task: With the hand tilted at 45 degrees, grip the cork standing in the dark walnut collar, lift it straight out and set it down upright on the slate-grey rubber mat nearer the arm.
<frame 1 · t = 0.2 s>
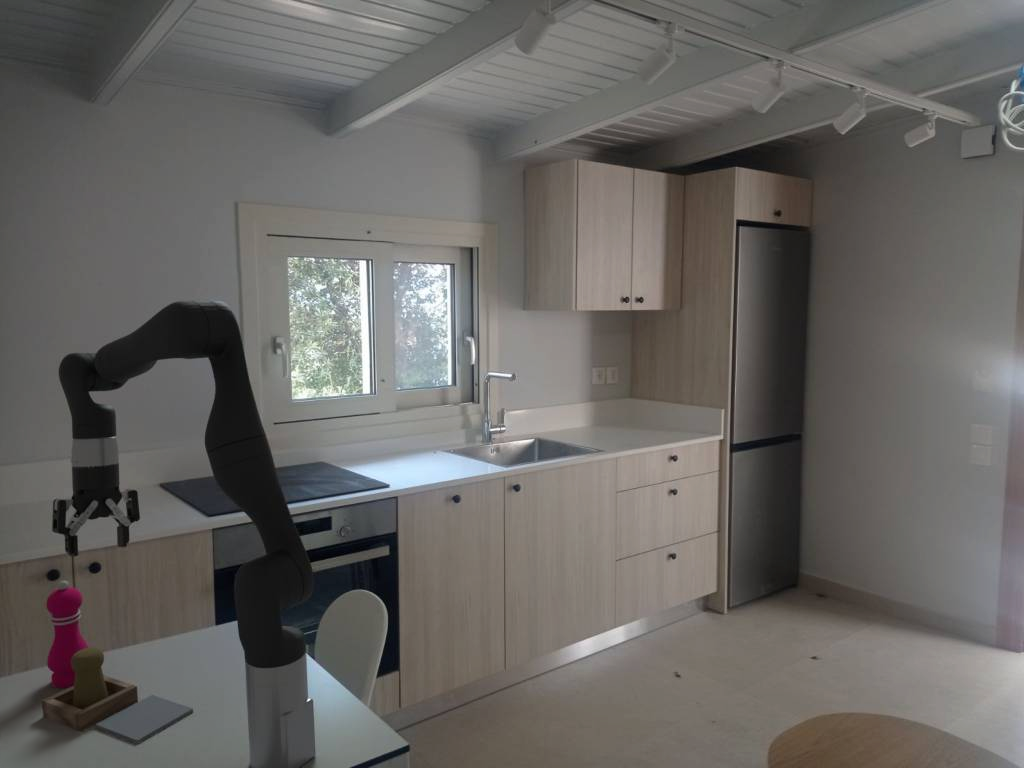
hand: (98, 551, 137), 28 cm above the table, tool pointing down, fingers open, 8 cm apart
rubber mat: (145, 719, 132), on the table
cork: (91, 710, 135), resting in walnut collar
pepper mill: (70, 681, 146), on the table
walnut collar: (91, 709, 135), on the table
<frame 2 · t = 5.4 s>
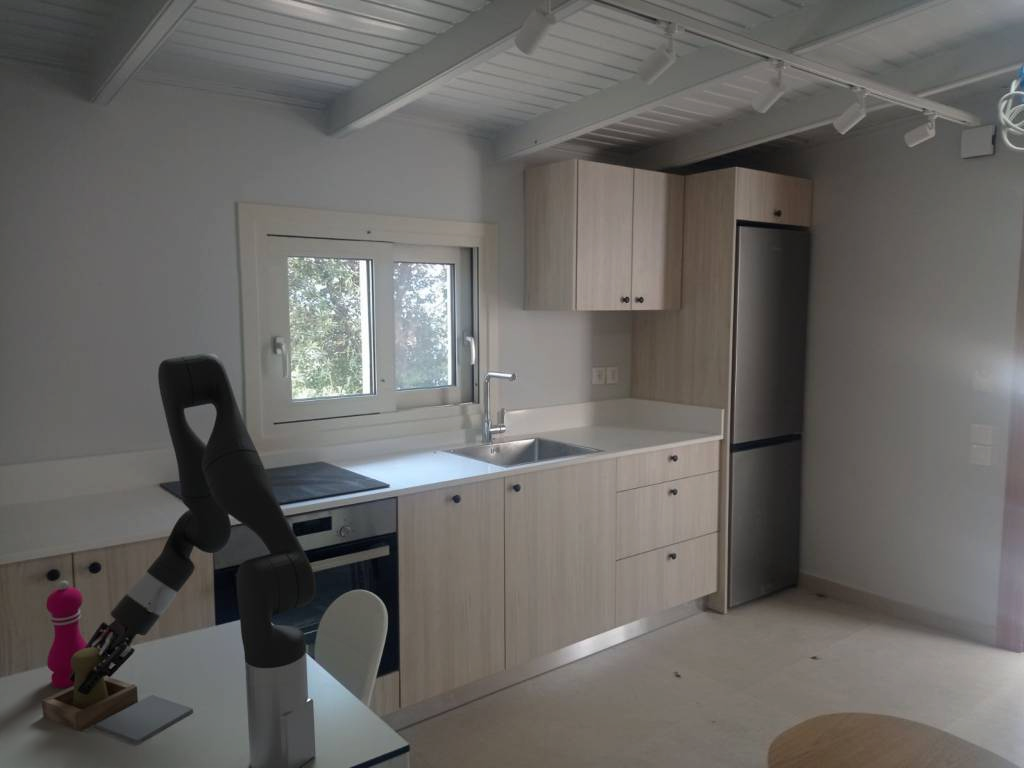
hand: (77, 686, 134), 5 cm above the table, tool tilted 45°, fingers closed on cork, 5 cm apart
cork: (91, 710, 135), resting in walnut collar, touching gripper
everything else where it was.
when the fingers open (7 cm above the table, at t = 11.4 s): cork drops 1 cm, resting on rubber mat.
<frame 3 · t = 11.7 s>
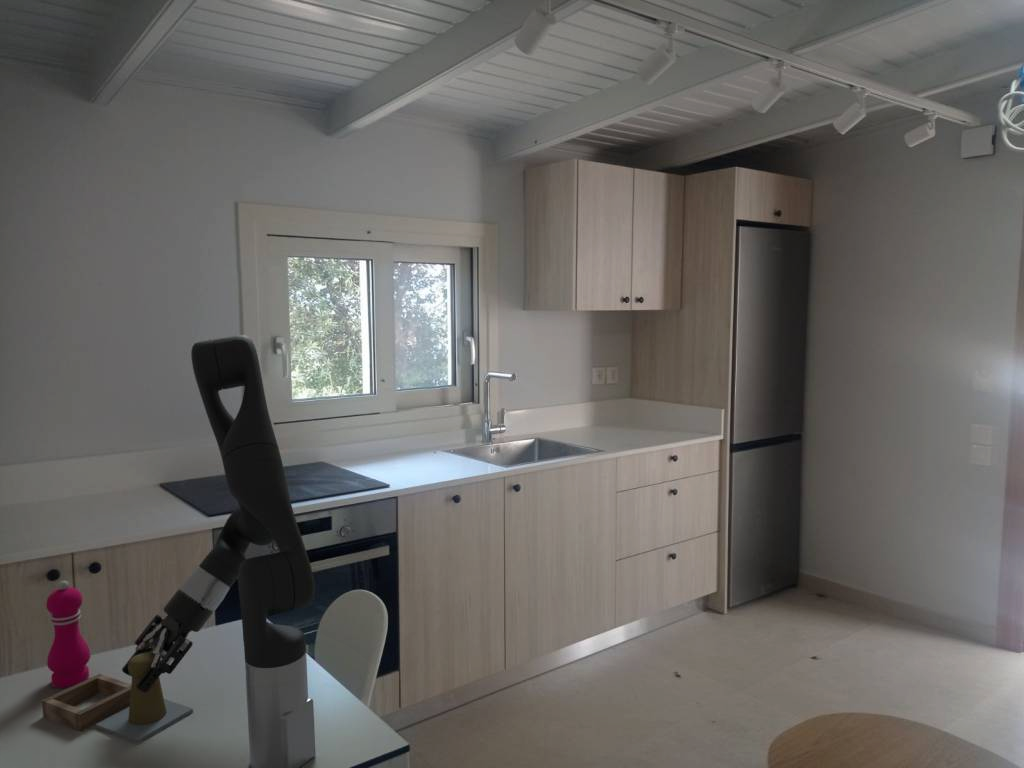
hand: (133, 681, 130), 8 cm above the table, tool tilted 45°, fingers open, 7 cm apart
cork: (147, 716, 132), resting on rubber mat
everything else where it was.
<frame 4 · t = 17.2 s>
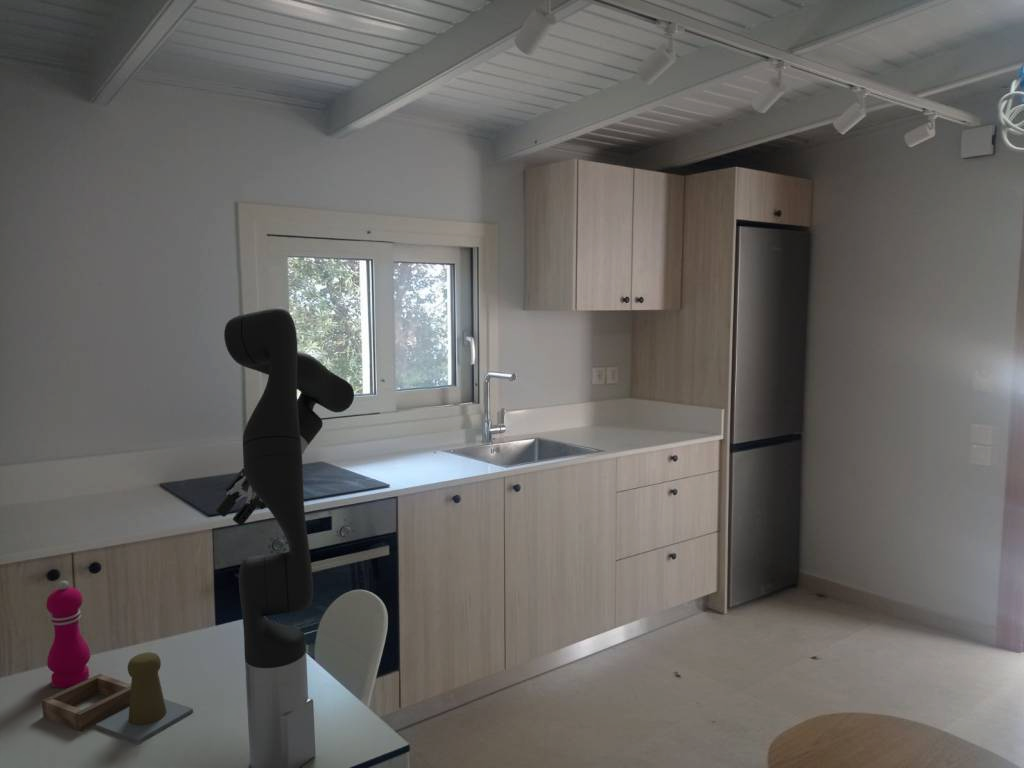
hand: (228, 518, 147), 31 cm above the table, tool tilted 45°, fingers open, 8 cm apart
nothing on the table moved.
at the end: cork inside the target area on the rubber mat (0.5 cm from its centre), point 0.4 cm above the rubber mat's base; cork tilted 0°; the gripper is holding nothing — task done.
